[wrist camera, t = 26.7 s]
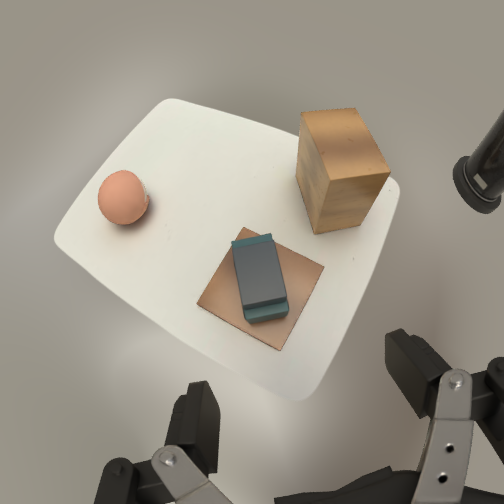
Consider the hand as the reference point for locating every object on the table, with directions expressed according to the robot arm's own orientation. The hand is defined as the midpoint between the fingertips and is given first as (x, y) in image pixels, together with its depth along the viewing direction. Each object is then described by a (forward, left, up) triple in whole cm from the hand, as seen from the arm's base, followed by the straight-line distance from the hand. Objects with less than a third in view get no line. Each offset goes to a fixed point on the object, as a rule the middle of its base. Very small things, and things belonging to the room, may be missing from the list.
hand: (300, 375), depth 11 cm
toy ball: (+11, -29, -23) cm, 39 cm away
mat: (-2, -10, -23) cm, 25 cm away
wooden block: (-16, -17, -23) cm, 33 cm away
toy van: (-2, -10, -22) cm, 24 cm away
